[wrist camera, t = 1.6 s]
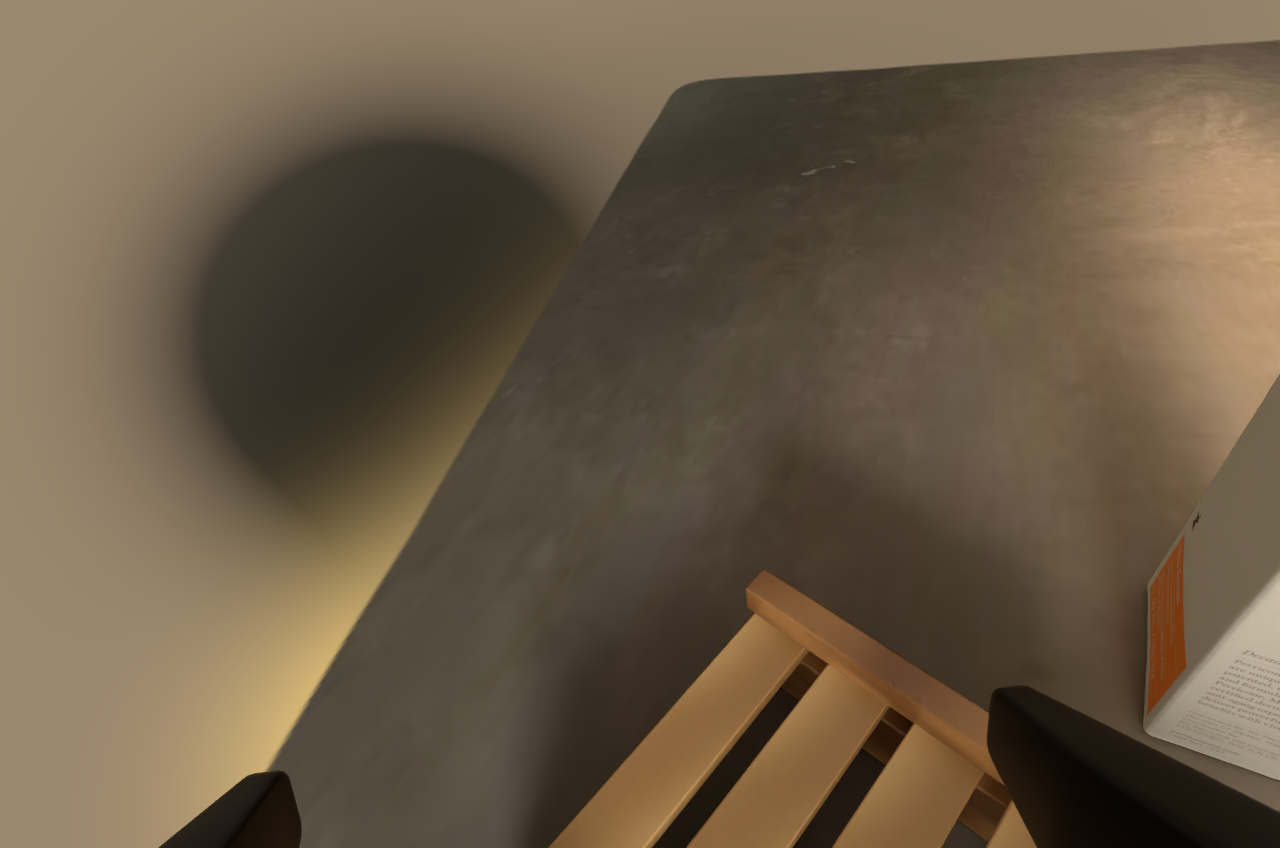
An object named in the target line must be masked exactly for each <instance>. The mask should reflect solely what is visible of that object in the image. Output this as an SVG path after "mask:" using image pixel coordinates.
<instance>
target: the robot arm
mask: <svg viewBox="0 0 1280 848" xmlns="http://www.w3.org/2000/svg"><path fill="white" fill-rule="evenodd" d="M987 748H988V752H989V755H990V758H991V760H992V762H993V764H994V766H995V768H996V770H997V772H998V774H999V776H1000V778H1001V780H1002V782H1003V783H1004V785H1005V787H1006V789H1007V791H1008V793H1009V795H1010V797H1011V799H1012V801H1013V803H1014V805H1015V807H1016V809H1017V810H1018V812H1019V814H1020V816H1021V818H1022V820H1023V822H1024V824H1025V826H1026V828H1027V830H1028V832H1029V834H1030V836H1031V837H1032V839H1033V841H1034V843H1035V845H1036V847H1037V848H1280V812H1279V811H1277V810H1275V809H1273V808H1271V807H1269V806H1267V805H1265V804H1263V803H1261V802H1259V801H1257V800H1255V799H1253V798H1251V797H1249V796H1247V795H1245V794H1243V793H1241V792H1239V791H1237V790H1235V789H1233V788H1231V787H1229V786H1227V785H1225V784H1223V783H1221V782H1219V781H1217V780H1215V779H1213V778H1211V777H1209V776H1207V775H1205V774H1203V773H1201V772H1199V771H1197V770H1195V769H1193V768H1191V767H1189V766H1187V765H1185V764H1183V763H1181V762H1179V761H1177V760H1175V759H1173V758H1171V757H1169V756H1167V755H1165V754H1163V753H1161V752H1159V751H1157V750H1155V749H1153V748H1151V747H1149V746H1147V745H1145V744H1143V743H1141V742H1139V741H1137V740H1135V739H1133V738H1131V737H1129V736H1127V735H1125V734H1123V733H1121V732H1119V731H1117V730H1115V729H1113V728H1111V727H1109V726H1107V725H1105V724H1103V723H1101V722H1099V721H1097V720H1095V719H1093V718H1091V717H1089V716H1087V715H1085V714H1083V713H1081V712H1079V711H1077V710H1075V709H1073V708H1071V707H1069V706H1067V705H1065V704H1063V703H1061V702H1059V701H1057V700H1055V699H1053V698H1051V697H1049V696H1047V695H1045V694H1043V693H1041V692H1039V691H1037V690H1035V689H1033V688H1030V687H1028V686H1011V687H1003V688H998V689H996V690H994V691H993V693H992V695H991V699H990V708H989V718H988V728H987ZM301 830H302V828H301V820H300V816H299V812H298V808H297V805H296V801H295V797H294V793H293V790H292V786H291V782H290V779H289V777H288V775H287V774H286V773H285V772H283V771H271V772H262V773H255V774H251V775H249V776H247V777H245V778H244V779H242V780H241V781H240V782H239V783H238V784H236V785H235V786H234V787H233V788H231V789H230V790H229V791H228V792H226V793H225V794H224V795H223V796H221V797H220V798H219V799H218V800H217V801H215V802H214V803H213V804H212V805H210V806H209V807H208V808H207V809H205V810H204V811H203V812H202V813H201V814H199V815H198V816H197V817H196V818H194V819H193V820H192V821H191V822H189V823H188V824H187V825H186V826H185V827H183V828H182V829H181V830H180V831H178V832H177V833H176V834H175V835H173V837H171V838H170V839H169V840H167V841H166V842H165V843H164V844H162V845H161V846H160V847H159V848H299V845H300V840H301Z"/></svg>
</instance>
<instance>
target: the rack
mask: <svg viewBox="0 0 1280 848" xmlns="http://www.w3.org/2000/svg"><path fill="white" fill-rule="evenodd" d="M746 600H747V608H748V609H750V610H751V611H753V613H752V614H751V615H750V616H749V617H748V618H747V620H746V621H745V625H744V626H743V627H742V628H741V629H740V630H739V631H738V633H737V634H736V635H735V636H734V637H733V638H732V639H731V641H730V642H729V643H728V644H727V645H726V646H725V647H724V648H723V650H722V651H721V652H720V653H719V654H718V655H717V656H716V658H715V659H714V660H713V661H712V662H711V663H710V664H709V666H708V667H707V668H706V669H705V670H704V671H703V672H702V673H701V675H700V676H699V677H698V678H697V679H696V680H695V681H694V683H693V684H692V685H691V686H690V687H689V688H688V689H687V691H686V692H685V693H684V694H683V695H682V696H681V697H680V698H679V700H678V701H677V702H676V703H675V704H674V705H673V706H672V708H671V709H670V710H669V711H668V712H667V713H666V714H665V715H664V717H663V718H662V719H661V720H660V721H659V722H658V723H657V725H656V726H655V727H654V728H653V729H652V730H651V731H650V733H649V734H648V735H647V736H646V737H645V738H644V739H643V740H642V742H641V743H640V744H639V745H638V746H637V747H636V748H635V750H634V751H633V752H632V753H631V754H630V755H629V756H628V758H627V759H626V760H625V761H624V762H623V763H622V764H621V765H620V767H619V768H618V769H617V770H616V771H615V772H614V773H613V775H612V776H611V777H610V778H609V779H608V780H607V781H606V782H605V784H604V785H603V786H602V787H601V788H600V789H599V790H598V792H597V793H596V794H595V795H594V796H593V797H592V798H591V800H590V801H589V802H588V803H587V804H586V805H585V806H584V807H583V809H582V810H581V811H580V812H579V813H578V814H577V815H576V817H575V818H574V819H573V820H572V821H571V822H570V823H569V825H568V826H567V827H566V828H565V829H564V830H563V831H562V832H561V834H560V835H559V836H558V837H557V838H556V839H555V840H554V842H553V843H552V844H551V845H550V846H549V847H548V848H652V847H653V846H654V845H655V844H656V842H657V841H658V840H659V839H660V837H661V836H662V835H663V834H664V832H665V831H666V830H667V829H668V827H669V826H670V825H671V824H672V822H673V821H674V820H675V819H676V817H677V816H678V815H679V814H680V812H681V811H682V810H683V809H684V807H685V806H686V805H687V804H688V802H689V801H690V800H691V798H692V797H693V796H694V795H695V793H696V792H697V791H698V790H699V788H700V787H701V786H702V785H703V783H704V782H705V781H706V780H707V778H708V777H709V776H710V775H711V773H712V772H713V771H714V770H715V768H716V767H717V766H718V765H719V763H720V762H721V761H722V760H723V758H724V757H725V756H726V755H727V753H728V752H729V751H730V750H731V748H732V747H733V746H734V745H735V743H736V742H737V741H738V740H739V738H740V737H741V736H742V735H743V733H744V732H745V731H746V730H747V728H748V727H749V726H750V725H751V723H752V722H753V721H754V720H755V718H756V717H757V716H758V715H759V713H760V712H761V711H762V710H763V708H764V707H765V706H766V705H767V703H768V702H769V701H770V700H771V698H772V697H773V696H774V695H775V693H776V692H777V691H778V690H779V688H780V687H781V688H783V689H784V690H785V691H787V692H788V693H789V694H791V695H792V696H793V697H795V698H796V699H797V700H799V702H798V703H797V705H796V706H795V707H794V709H793V710H792V711H791V712H790V714H789V715H788V716H787V718H786V719H785V720H784V721H783V723H782V724H781V725H780V727H779V728H778V729H777V731H776V732H775V733H774V734H773V736H772V737H771V738H770V740H769V741H768V742H767V743H766V745H765V746H764V747H763V749H762V750H761V751H760V753H759V754H758V755H757V756H756V758H755V759H754V760H753V762H752V763H751V764H750V765H749V767H748V768H747V769H746V771H745V772H744V773H743V775H742V776H741V777H740V778H739V780H738V781H737V782H736V784H735V785H734V786H733V787H732V789H731V790H730V791H729V793H728V794H727V795H726V797H725V798H724V799H723V800H722V802H721V803H720V804H719V806H718V807H717V808H716V809H715V811H714V812H713V813H712V815H711V816H710V817H709V818H708V820H707V821H706V822H705V824H704V825H703V826H702V828H701V829H700V830H699V831H698V833H697V834H696V835H695V837H694V838H693V839H692V840H691V842H690V843H689V844H688V846H687V847H686V848H793V847H794V845H795V844H796V842H797V841H798V839H799V838H800V837H801V835H802V834H803V832H804V831H805V829H806V828H807V826H808V825H809V823H810V822H811V821H812V819H813V818H814V816H815V815H816V813H817V812H818V810H819V809H820V808H821V806H822V805H823V803H824V802H825V800H826V799H827V797H828V796H829V794H830V793H831V792H832V790H833V789H834V787H835V786H836V784H837V783H838V781H839V780H840V779H841V777H842V776H843V774H844V773H845V771H846V770H847V768H848V767H849V765H850V764H851V763H852V761H853V760H854V758H855V757H856V755H857V754H858V752H859V751H860V750H861V748H863V749H864V750H865V751H867V752H868V753H869V754H871V755H872V756H873V757H875V758H876V759H877V760H879V761H880V762H881V763H883V764H884V765H885V767H884V769H883V771H882V772H881V774H880V775H879V777H878V778H877V780H876V781H875V783H874V784H873V786H872V787H871V789H870V790H869V792H868V793H867V795H866V796H865V798H864V799H863V801H862V802H861V804H860V805H859V807H858V808H857V810H856V811H855V813H854V814H853V816H852V817H851V819H850V821H849V822H848V824H847V825H846V827H845V828H844V830H843V831H842V833H841V834H840V836H839V837H838V839H837V840H836V842H835V843H834V845H833V846H832V848H941V847H942V846H943V844H944V842H945V840H946V839H947V837H948V835H949V833H950V832H951V830H952V828H953V826H954V825H955V823H956V821H957V820H959V821H960V822H961V823H963V824H964V825H965V826H967V827H968V828H969V829H971V830H972V831H973V832H975V833H976V834H977V835H979V836H980V837H981V838H983V839H984V840H985V841H987V842H988V843H987V845H986V847H985V848H1037V847H1036V845H1035V843H1034V841H1033V839H1032V837H1031V836H1030V834H1029V832H1028V830H1027V828H1026V826H1025V824H1024V822H1023V820H1022V818H1021V816H1020V814H1019V812H1018V810H1017V809H1016V807H1015V805H1014V803H1013V801H1012V799H1011V797H1010V795H1009V793H1008V791H1007V789H1006V787H1005V785H1004V783H1003V782H1002V780H1001V778H1000V776H999V774H998V772H997V770H996V768H995V766H994V764H993V762H992V760H991V758H990V755H989V752H988V748H987V728H988V718H989V712H987V711H986V710H984V709H982V708H981V707H979V706H978V705H976V704H975V703H973V702H972V701H970V700H968V699H967V698H965V697H964V696H962V695H961V694H959V693H957V692H956V691H954V690H953V689H951V688H950V687H948V686H946V685H945V684H943V683H942V682H940V681H939V680H937V679H936V678H934V677H932V676H931V675H929V674H928V673H926V672H925V671H923V670H921V669H920V668H918V667H917V666H915V665H914V664H912V663H911V662H909V661H907V660H906V659H904V658H903V657H901V656H900V655H898V654H896V653H895V652H893V651H892V650H890V649H889V648H887V647H886V646H884V645H882V644H881V643H879V642H878V641H876V640H875V639H873V638H871V637H870V636H868V635H867V634H865V633H864V632H862V631H861V630H859V629H857V628H856V627H854V626H853V625H851V624H850V623H848V622H846V621H845V620H843V619H842V618H840V617H839V616H837V615H835V614H834V613H832V612H831V611H829V610H828V609H826V608H825V607H823V606H821V605H820V604H818V603H817V602H815V601H814V600H812V599H810V598H809V597H807V596H806V595H804V594H803V593H801V592H800V591H798V590H796V589H795V588H793V587H792V586H790V585H789V584H787V583H785V582H784V581H782V580H781V579H779V578H778V577H776V576H775V575H773V574H771V573H770V572H768V571H767V570H765V569H763V570H762V571H761V572H760V573H759V574H758V575H757V576H756V577H755V579H754V580H753V581H752V582H751V583H750V584H749V585H748V586H747V587H746Z"/></svg>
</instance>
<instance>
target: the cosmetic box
mask: <svg viewBox="0 0 1280 848" xmlns="http://www.w3.org/2000/svg"><path fill="white" fill-rule="evenodd" d="M1147 594H1148V618H1147V666H1146V684H1145V702H1144V719H1143V729H1144V731H1145V732H1146V733H1147V734H1149V735H1150V736H1152V737H1155V738H1158V739H1162V740H1165V741H1168V742H1170V743H1173V744H1176V745H1179V746H1182V747H1185V748H1188V749H1191V750H1194V751H1197V752H1199V753H1202V754H1205V755H1208V756H1211V757H1214V758H1217V759H1220V760H1223V761H1225V762H1228V763H1231V764H1234V765H1237V766H1240V767H1243V768H1245V769H1248V770H1251V771H1254V772H1257V773H1259V774H1262V775H1265V776H1268V777H1271V778H1273V779H1276V780H1279V781H1280V374H1279V376H1278V378H1277V379H1276V381H1275V382H1274V384H1273V385H1272V387H1271V389H1270V390H1269V392H1268V393H1267V395H1266V397H1265V398H1264V400H1263V402H1262V403H1261V405H1260V406H1259V408H1258V409H1257V411H1256V413H1255V414H1254V416H1253V417H1252V419H1251V420H1250V422H1249V424H1248V425H1247V427H1246V428H1245V430H1244V431H1243V433H1242V435H1241V436H1240V438H1239V439H1238V441H1237V443H1236V444H1235V446H1234V447H1233V449H1232V451H1231V452H1230V454H1229V455H1228V457H1227V458H1226V460H1225V462H1224V463H1223V465H1222V467H1221V468H1220V470H1219V471H1218V473H1217V474H1216V476H1215V477H1214V479H1213V480H1212V482H1211V484H1210V485H1209V487H1208V488H1207V490H1206V491H1205V493H1204V495H1203V496H1202V498H1201V500H1200V502H1199V503H1198V505H1197V506H1196V508H1195V509H1194V511H1193V513H1192V514H1191V516H1190V517H1189V519H1188V521H1187V522H1186V524H1185V526H1184V527H1183V529H1182V531H1181V532H1180V534H1179V535H1178V537H1177V538H1176V540H1175V541H1174V543H1173V544H1172V546H1171V547H1170V549H1169V551H1168V552H1167V554H1166V556H1165V557H1164V559H1163V560H1162V561H1161V563H1160V565H1159V567H1158V568H1157V570H1156V571H1155V573H1154V574H1153V576H1152V578H1151V579H1150V581H1149V582H1148V584H1147Z"/></svg>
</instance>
